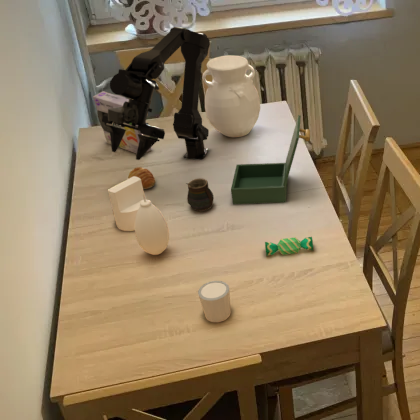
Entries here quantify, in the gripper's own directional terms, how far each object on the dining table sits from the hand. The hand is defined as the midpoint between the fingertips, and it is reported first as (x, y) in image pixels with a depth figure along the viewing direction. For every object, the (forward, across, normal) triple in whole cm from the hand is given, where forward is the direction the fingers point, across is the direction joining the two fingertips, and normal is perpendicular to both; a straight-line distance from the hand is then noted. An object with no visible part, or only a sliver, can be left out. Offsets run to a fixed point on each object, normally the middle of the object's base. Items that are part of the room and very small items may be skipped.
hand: (125, 155), depth 183 cm
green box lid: (-14, +38, +22) cm, 46 cm away
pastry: (+8, -5, +15) cm, 18 cm away
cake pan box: (0, -27, +28) cm, 39 cm away
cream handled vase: (-15, -2, +49) cm, 52 cm away
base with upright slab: (+17, +8, +1) cm, 19 cm away
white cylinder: (+26, +54, -15) cm, 62 cm away
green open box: (0, +30, +25) cm, 39 cm away
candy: (+11, +54, +7) cm, 56 cm away
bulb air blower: (+21, +24, -6) cm, 33 cm away
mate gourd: (+9, +20, +12) cm, 25 cm away
